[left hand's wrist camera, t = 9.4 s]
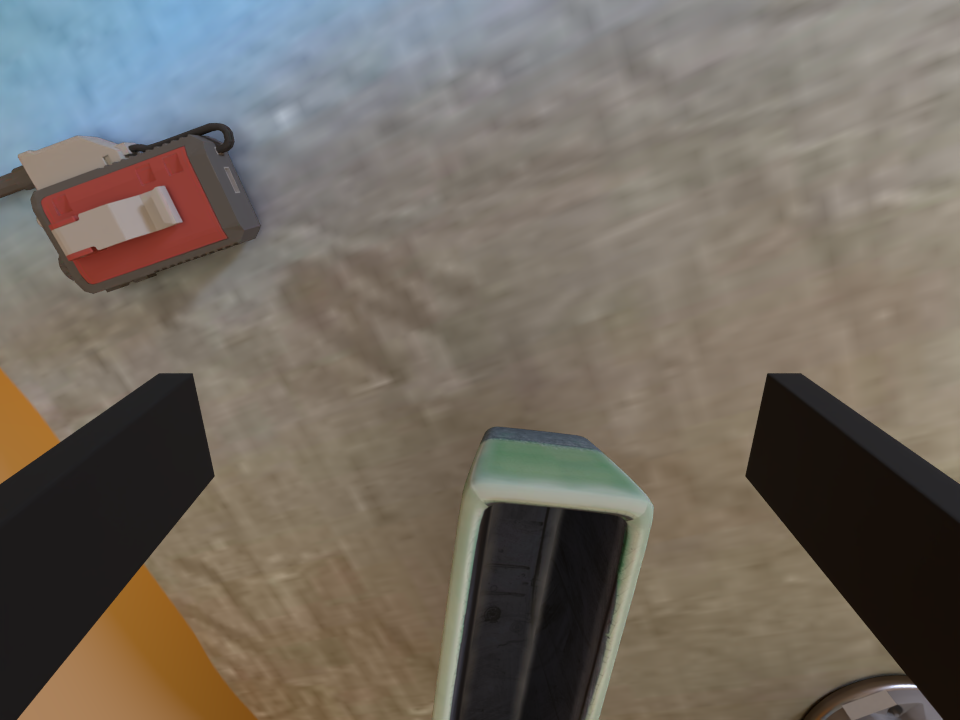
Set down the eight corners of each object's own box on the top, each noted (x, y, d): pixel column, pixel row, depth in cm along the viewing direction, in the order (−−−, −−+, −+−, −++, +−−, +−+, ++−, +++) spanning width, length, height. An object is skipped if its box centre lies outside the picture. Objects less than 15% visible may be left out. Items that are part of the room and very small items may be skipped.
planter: (467, 396, 26) (462, 481, 19) (615, 413, 26) (663, 502, 19) (420, 777, 35) (405, 924, 28) (529, 786, 35) (540, 934, 29)
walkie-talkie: (221, 88, 32) (-63, 195, 34) (182, 77, 28) (-138, 200, 30) (283, 231, 35) (19, 322, 37) (257, 240, 31) (-40, 342, 33)
